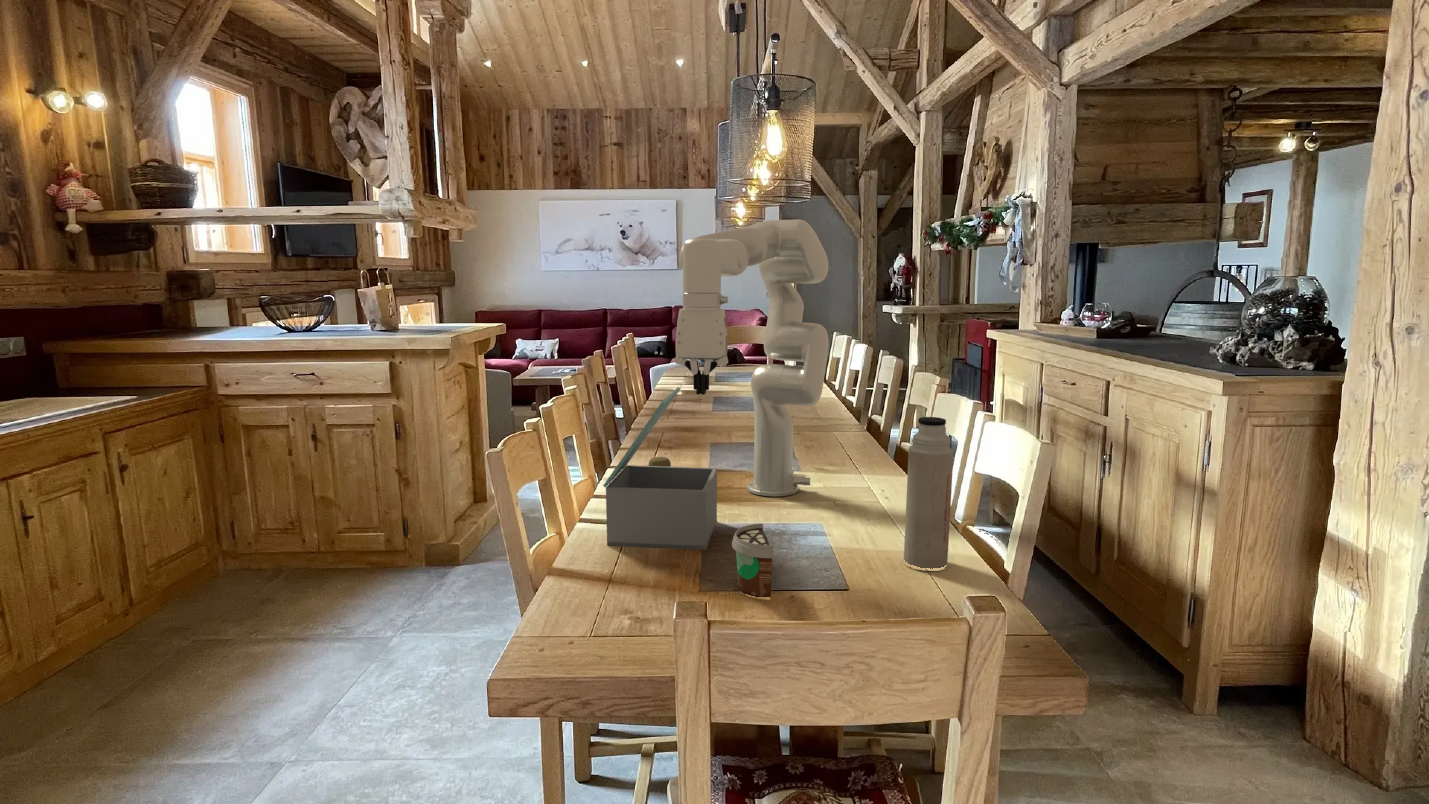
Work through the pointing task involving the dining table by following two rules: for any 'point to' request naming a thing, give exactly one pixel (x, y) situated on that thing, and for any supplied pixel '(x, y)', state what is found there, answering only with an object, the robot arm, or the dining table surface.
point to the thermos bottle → (928, 495)
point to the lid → (642, 436)
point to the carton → (662, 507)
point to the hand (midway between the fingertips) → (701, 393)
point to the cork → (659, 461)
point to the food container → (753, 560)
